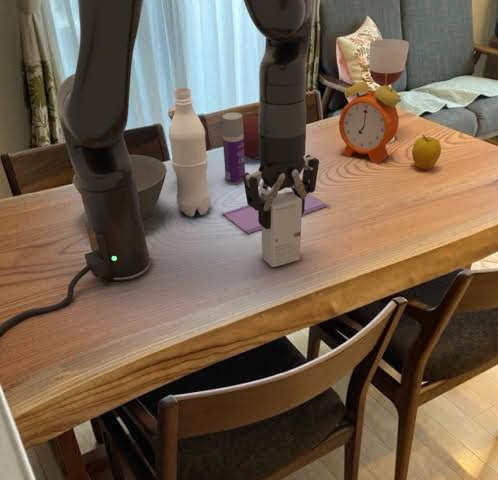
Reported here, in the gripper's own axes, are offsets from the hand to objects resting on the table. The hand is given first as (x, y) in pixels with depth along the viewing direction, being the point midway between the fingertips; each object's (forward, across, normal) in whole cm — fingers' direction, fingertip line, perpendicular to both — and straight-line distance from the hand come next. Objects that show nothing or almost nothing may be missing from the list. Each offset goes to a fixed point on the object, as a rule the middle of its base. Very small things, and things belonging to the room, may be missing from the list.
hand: (281, 221), depth 95 cm
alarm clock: (+8, -44, -28) cm, 53 cm away
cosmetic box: (+8, 0, 0) cm, 8 cm away
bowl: (+8, +18, -32) cm, 37 cm away
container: (+8, -10, -34) cm, 37 cm away
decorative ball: (+8, -21, -43) cm, 49 cm away
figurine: (+8, 0, -38) cm, 39 cm away
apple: (+8, -50, -14) cm, 53 cm away
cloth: (+8, -10, -16) cm, 20 cm away
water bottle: (+8, +5, -26) cm, 28 cm away
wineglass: (+8, -55, -35) cm, 66 cm away
